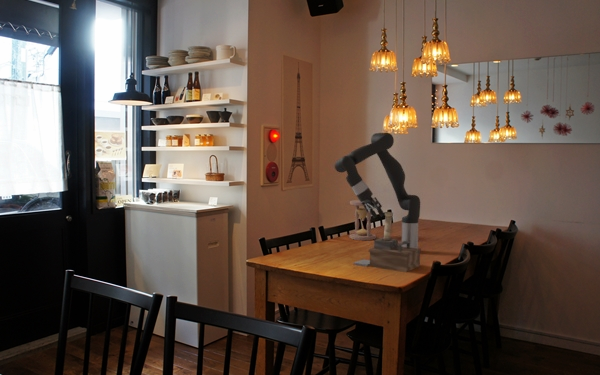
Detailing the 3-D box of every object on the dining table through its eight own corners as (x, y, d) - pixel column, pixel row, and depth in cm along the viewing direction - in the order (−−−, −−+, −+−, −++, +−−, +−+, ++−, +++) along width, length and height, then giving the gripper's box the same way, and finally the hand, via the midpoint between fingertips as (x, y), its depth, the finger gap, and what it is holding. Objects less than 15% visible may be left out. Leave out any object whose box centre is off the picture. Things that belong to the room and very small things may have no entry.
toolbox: (383, 260, 276) (384, 236, 275) (420, 266, 264) (421, 240, 263) (368, 266, 262) (368, 240, 261) (406, 272, 250) (407, 245, 249)
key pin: (384, 246, 268) (387, 212, 268) (391, 247, 266) (394, 212, 266) (380, 247, 265) (383, 211, 265) (388, 248, 262) (390, 212, 262)
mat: (362, 261, 275) (362, 259, 275) (376, 263, 270) (376, 261, 270) (353, 264, 267) (353, 262, 267) (367, 266, 262) (367, 264, 262)
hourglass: (380, 239, 342) (380, 202, 340) (356, 241, 337) (356, 202, 335) (368, 235, 359) (369, 199, 357) (345, 236, 353) (345, 200, 352)
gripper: (372, 184, 261) (390, 211, 261) (361, 188, 274) (378, 213, 275) (361, 192, 258) (380, 219, 259) (351, 196, 272) (368, 221, 272)
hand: (379, 216), depth 267 cm, fingers open, 8 cm apart
